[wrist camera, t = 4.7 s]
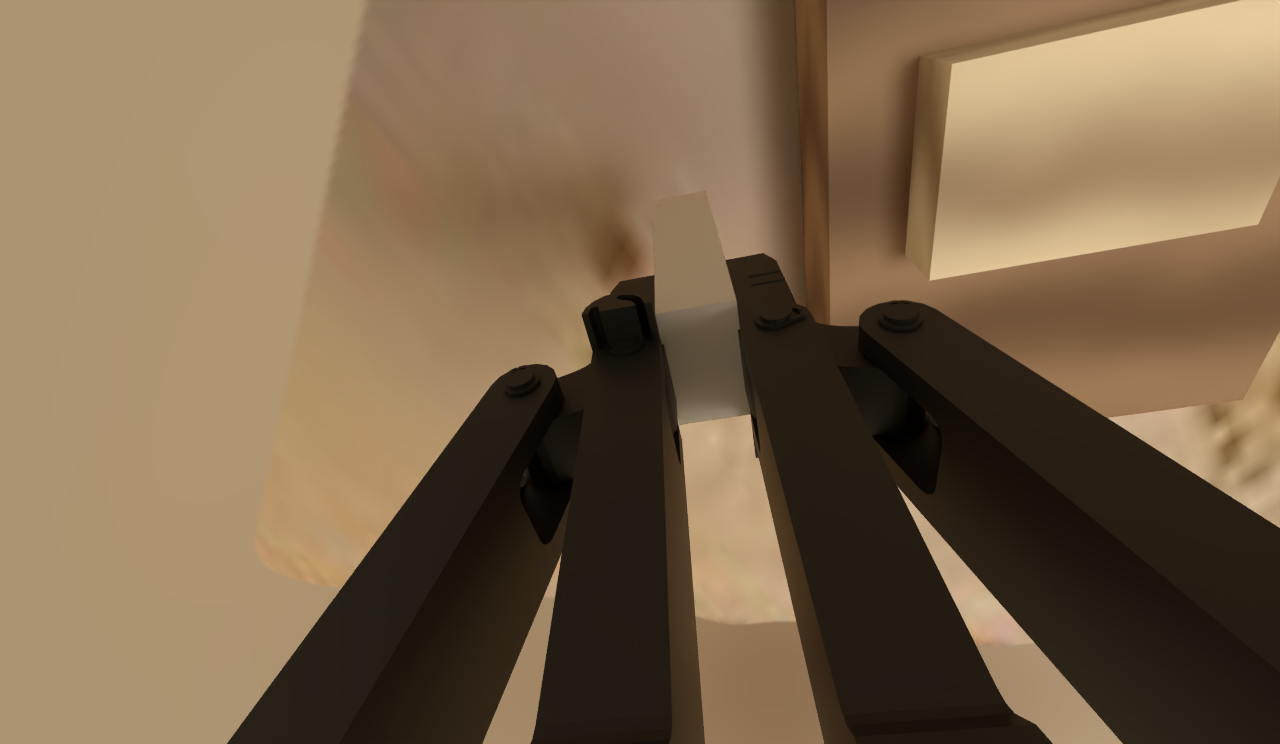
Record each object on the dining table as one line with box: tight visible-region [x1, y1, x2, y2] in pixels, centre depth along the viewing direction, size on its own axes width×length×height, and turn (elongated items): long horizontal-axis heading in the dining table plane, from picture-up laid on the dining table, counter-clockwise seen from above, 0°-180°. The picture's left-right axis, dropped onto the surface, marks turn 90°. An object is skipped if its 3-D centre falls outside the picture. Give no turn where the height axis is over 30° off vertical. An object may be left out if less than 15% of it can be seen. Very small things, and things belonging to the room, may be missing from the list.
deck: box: [795, 0, 1280, 418], centre depth 18 cm, size 24×16×4 cm, turn 12°
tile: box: [905, 0, 1280, 281], centre depth 15 cm, size 6×9×2 cm, turn 102°
